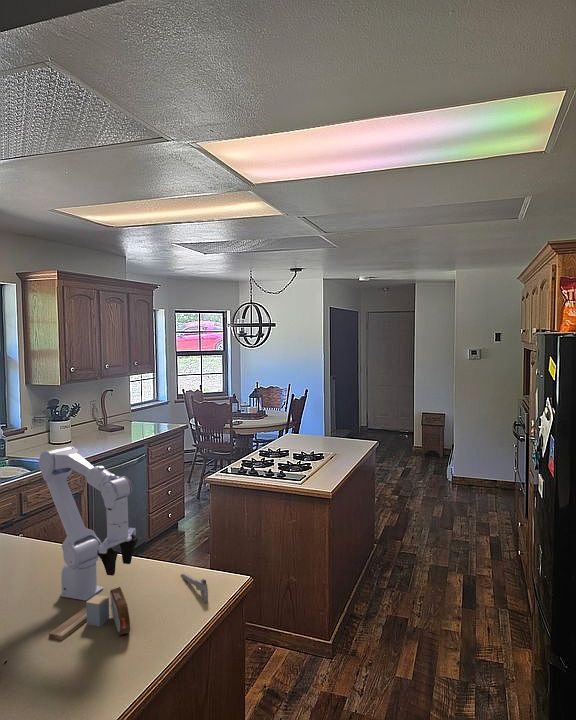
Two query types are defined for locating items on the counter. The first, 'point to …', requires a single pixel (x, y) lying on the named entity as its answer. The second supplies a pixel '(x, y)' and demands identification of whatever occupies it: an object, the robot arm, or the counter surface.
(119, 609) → the tin
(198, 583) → the caliper
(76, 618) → the board
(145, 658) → the counter surface
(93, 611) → the tan grey block
